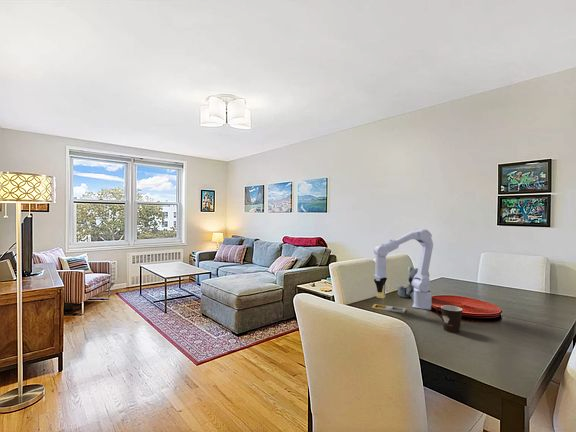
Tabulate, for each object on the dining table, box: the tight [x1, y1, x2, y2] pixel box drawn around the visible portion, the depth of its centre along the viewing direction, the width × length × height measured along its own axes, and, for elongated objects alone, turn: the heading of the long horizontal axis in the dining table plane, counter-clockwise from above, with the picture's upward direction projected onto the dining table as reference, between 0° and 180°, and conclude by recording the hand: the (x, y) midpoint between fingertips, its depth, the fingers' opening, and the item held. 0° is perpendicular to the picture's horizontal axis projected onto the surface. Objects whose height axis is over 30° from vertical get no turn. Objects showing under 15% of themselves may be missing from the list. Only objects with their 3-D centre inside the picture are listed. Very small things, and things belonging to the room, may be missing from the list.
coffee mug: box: [435, 304, 463, 334], centre depth 140 cm, size 12×9×10 cm
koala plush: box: [397, 265, 431, 302], centre depth 192 cm, size 17×18×20 cm
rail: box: [371, 303, 407, 314], centre depth 169 cm, size 17×6×1 cm, turn 61°
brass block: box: [376, 283, 386, 299], centre depth 171 cm, size 4×4×7 cm
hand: (380, 291), depth 171 cm, fingers closed on brass block, 4 cm apart
